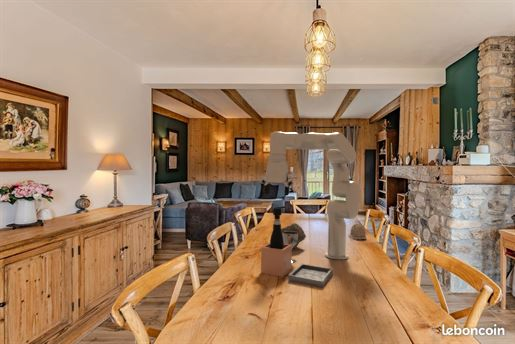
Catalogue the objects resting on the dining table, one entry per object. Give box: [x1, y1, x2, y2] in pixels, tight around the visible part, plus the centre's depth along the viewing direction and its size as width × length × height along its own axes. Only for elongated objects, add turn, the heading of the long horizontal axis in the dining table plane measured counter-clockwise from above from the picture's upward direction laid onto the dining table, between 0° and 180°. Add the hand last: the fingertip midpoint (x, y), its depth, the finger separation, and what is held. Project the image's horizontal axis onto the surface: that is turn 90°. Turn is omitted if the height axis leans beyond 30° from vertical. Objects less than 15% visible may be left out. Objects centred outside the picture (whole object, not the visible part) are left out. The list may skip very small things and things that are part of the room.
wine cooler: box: [260, 242, 293, 278], centre depth 144 cm, size 11×11×12 cm
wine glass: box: [283, 231, 298, 264], centre depth 160 cm, size 8×8×15 cm
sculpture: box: [348, 223, 367, 240], centre depth 217 cm, size 12×17×10 cm
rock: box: [281, 222, 307, 249], centre depth 184 cm, size 18×14×15 cm
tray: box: [287, 263, 333, 288], centre depth 137 cm, size 18×15×2 cm
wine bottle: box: [269, 207, 284, 249], centre depth 144 cm, size 6×6×30 cm
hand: (276, 194), depth 144 cm, fingers open, 9 cm apart
